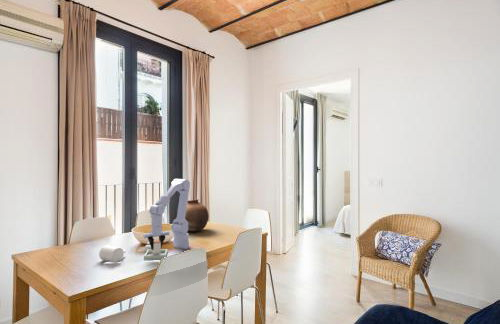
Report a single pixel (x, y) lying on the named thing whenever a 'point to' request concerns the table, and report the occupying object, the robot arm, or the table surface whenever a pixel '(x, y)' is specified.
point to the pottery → (196, 215)
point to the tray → (155, 255)
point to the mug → (111, 253)
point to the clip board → (144, 248)
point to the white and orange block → (156, 247)
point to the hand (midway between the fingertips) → (156, 248)
